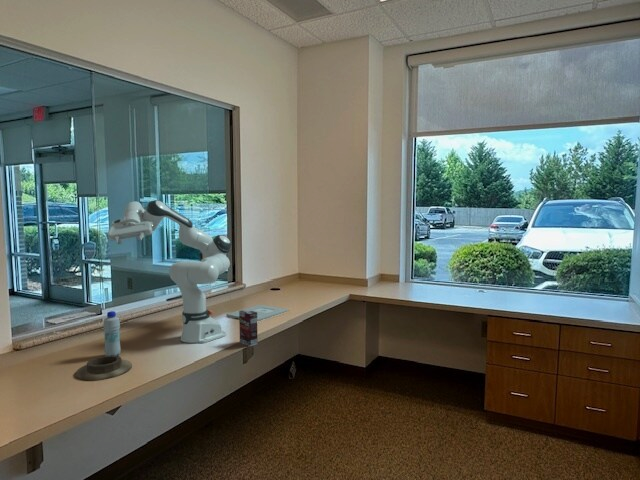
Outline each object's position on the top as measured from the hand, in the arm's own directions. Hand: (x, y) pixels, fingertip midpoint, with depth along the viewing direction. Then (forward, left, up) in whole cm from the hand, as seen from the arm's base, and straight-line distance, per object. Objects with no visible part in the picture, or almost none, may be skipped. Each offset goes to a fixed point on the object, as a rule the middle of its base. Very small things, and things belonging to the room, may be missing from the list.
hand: (129, 241), depth 200 cm
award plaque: (-76, -2, -50) cm, 91 cm away
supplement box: (-40, +41, -50) cm, 76 cm away
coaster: (+21, +29, -49) cm, 61 cm away
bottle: (+13, +13, -50) cm, 53 cm away
